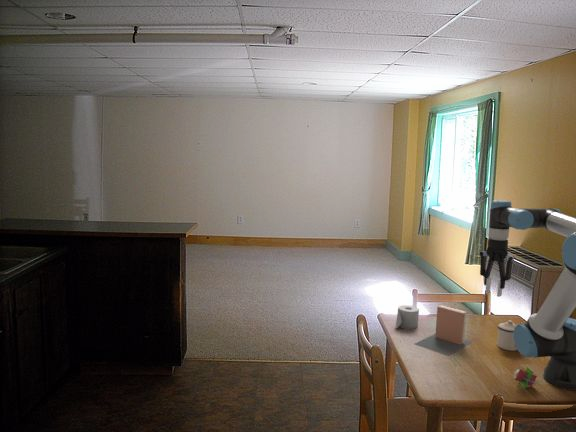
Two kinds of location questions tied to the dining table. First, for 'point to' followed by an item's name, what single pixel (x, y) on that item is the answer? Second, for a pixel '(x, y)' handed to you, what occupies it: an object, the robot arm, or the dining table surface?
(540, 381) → the dining table surface
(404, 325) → the toilet tissue
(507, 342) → the teacup with lid
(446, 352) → the mat
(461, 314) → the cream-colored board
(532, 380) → the geometric puzzle
